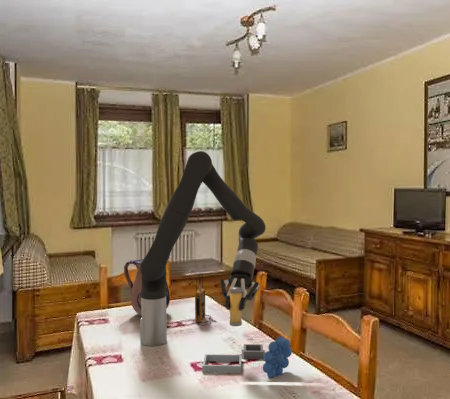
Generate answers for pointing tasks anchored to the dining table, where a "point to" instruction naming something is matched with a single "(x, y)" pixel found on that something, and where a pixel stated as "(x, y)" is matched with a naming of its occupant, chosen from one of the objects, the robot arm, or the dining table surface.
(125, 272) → the ceramic pitcher
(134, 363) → the dining table surface
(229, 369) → the tray
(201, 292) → the multimeter
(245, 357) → the socket block
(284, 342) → the grapes
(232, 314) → the cylinder
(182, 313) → the dining table surface
